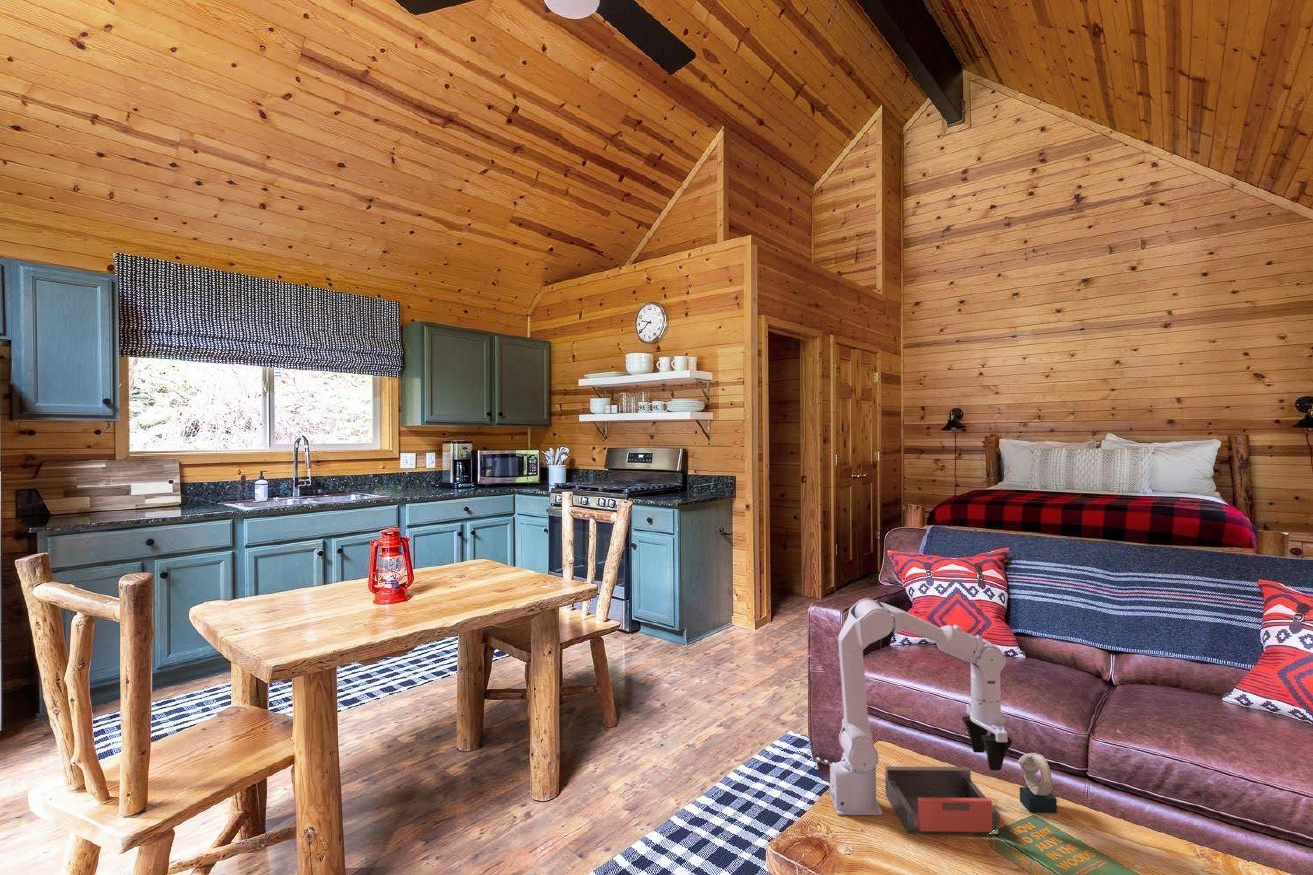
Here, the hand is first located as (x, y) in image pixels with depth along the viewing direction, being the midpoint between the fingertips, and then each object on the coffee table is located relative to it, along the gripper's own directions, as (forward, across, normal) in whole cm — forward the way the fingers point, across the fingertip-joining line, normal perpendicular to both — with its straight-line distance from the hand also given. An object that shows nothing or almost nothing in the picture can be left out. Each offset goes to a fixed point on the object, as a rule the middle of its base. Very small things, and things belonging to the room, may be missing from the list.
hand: (986, 760), depth 139 cm
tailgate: (+8, -11, +11) cm, 18 cm away
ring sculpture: (+10, 0, -11) cm, 15 cm away
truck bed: (+10, -3, +11) cm, 15 cm away
